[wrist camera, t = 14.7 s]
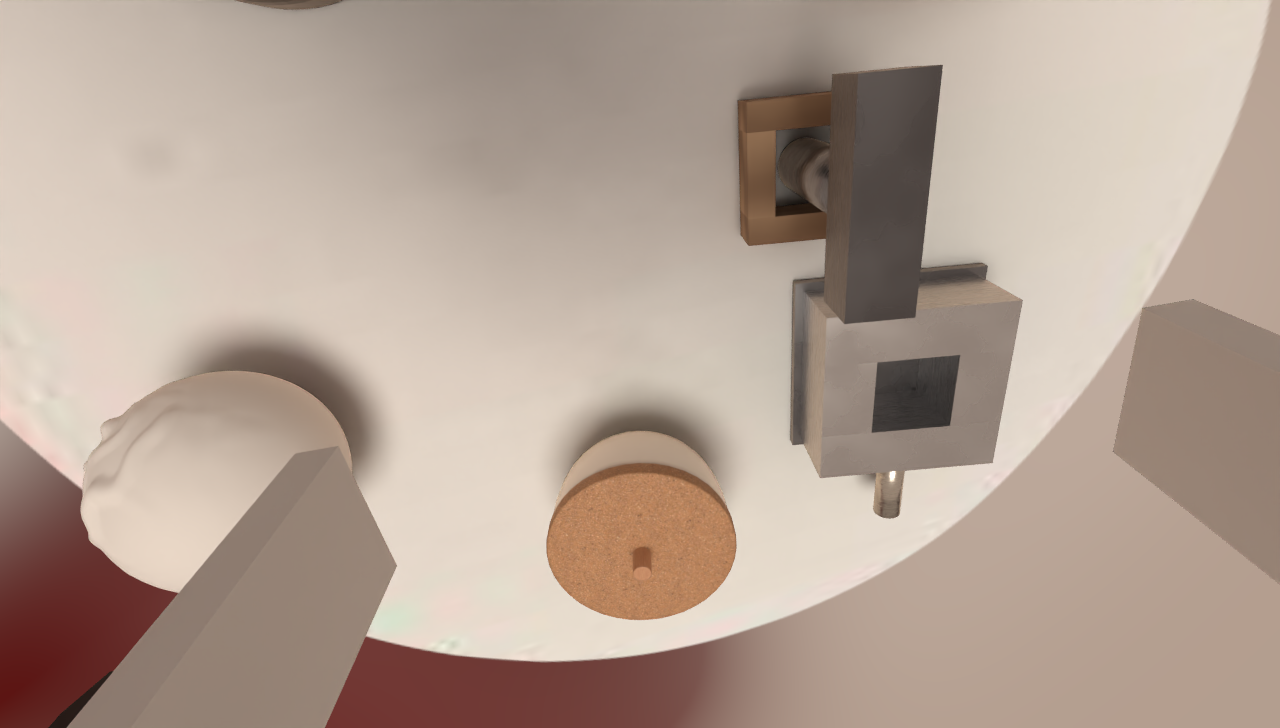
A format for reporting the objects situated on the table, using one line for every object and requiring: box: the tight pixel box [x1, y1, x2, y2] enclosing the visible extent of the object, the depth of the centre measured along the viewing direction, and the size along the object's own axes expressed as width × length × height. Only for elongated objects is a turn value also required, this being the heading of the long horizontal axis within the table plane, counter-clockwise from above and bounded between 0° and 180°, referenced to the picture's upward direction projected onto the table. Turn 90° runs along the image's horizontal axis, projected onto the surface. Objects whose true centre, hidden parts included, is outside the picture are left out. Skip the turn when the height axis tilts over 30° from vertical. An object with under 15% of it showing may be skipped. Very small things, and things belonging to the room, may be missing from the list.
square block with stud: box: [790, 263, 1023, 518], centre depth 36 cm, size 15×11×5 cm
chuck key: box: [778, 65, 943, 324], centre depth 27 cm, size 9×3×12 cm, turn 5°
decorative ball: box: [81, 371, 352, 592], centre depth 33 cm, size 12×12×12 cm
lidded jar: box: [547, 431, 736, 620], centre depth 37 cm, size 11×11×9 cm
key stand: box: [738, 91, 832, 246], centre depth 32 cm, size 7×7×2 cm
